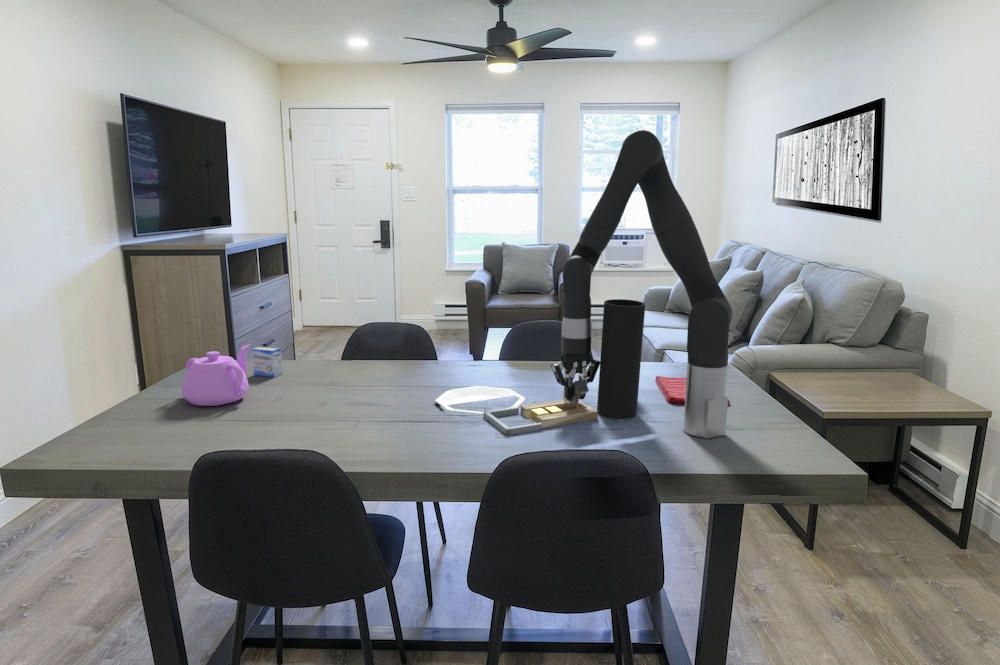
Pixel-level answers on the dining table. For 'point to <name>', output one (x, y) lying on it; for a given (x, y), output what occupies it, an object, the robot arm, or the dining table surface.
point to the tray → (501, 426)
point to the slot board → (567, 416)
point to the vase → (620, 358)
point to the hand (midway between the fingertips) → (575, 399)
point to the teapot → (215, 379)
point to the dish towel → (673, 389)
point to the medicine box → (267, 361)
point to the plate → (475, 396)
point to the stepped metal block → (576, 392)
